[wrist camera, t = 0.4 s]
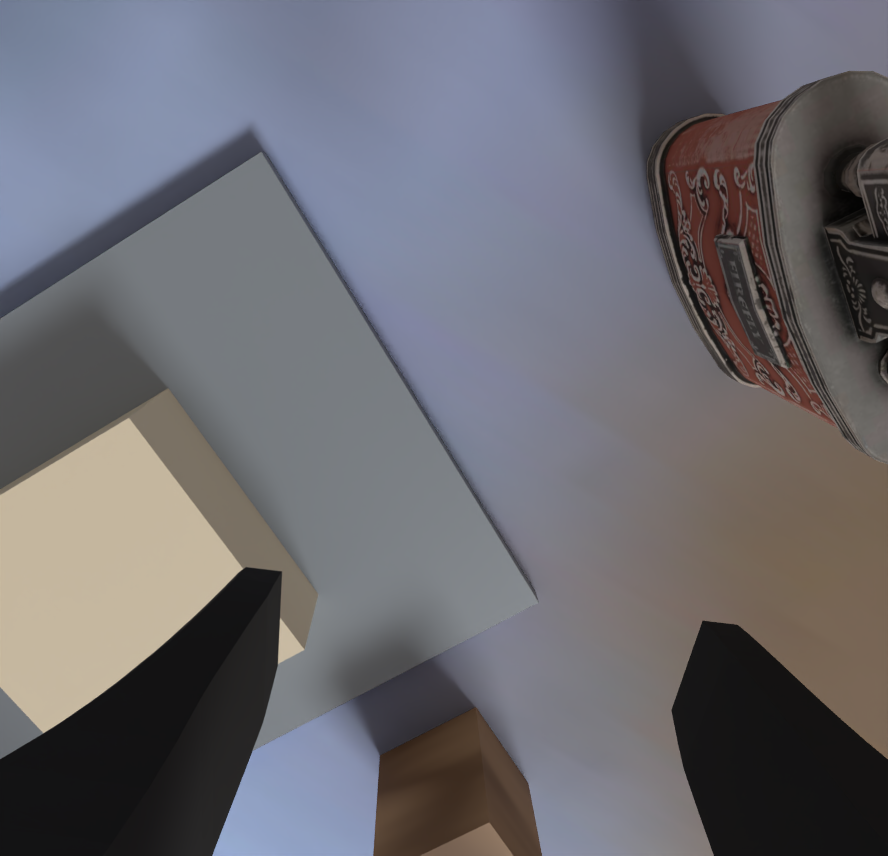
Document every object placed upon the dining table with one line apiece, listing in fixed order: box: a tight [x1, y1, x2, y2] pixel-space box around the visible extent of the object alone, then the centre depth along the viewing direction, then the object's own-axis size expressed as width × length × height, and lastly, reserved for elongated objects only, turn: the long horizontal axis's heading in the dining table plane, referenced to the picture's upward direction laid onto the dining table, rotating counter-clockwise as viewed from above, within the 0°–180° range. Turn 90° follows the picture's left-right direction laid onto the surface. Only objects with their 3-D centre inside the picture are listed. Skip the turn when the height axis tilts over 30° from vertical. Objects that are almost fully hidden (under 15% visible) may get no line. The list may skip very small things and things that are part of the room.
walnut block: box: [373, 707, 542, 856], centre depth 24 cm, size 4×4×5 cm
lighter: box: [647, 71, 888, 464], centre depth 16 cm, size 8×3×10 cm, turn 26°
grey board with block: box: [0, 152, 539, 759], centre depth 21 cm, size 20×16×4 cm
